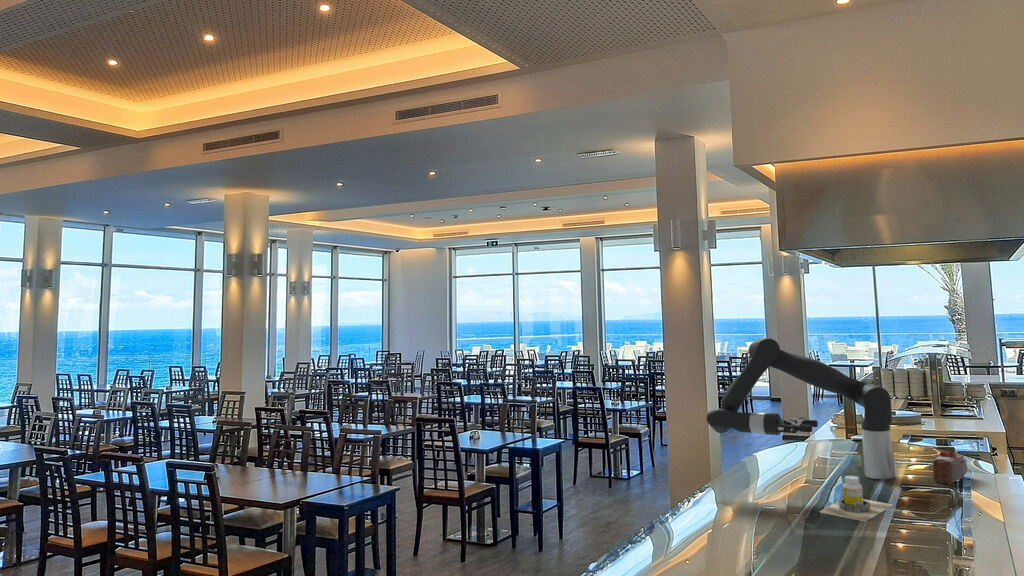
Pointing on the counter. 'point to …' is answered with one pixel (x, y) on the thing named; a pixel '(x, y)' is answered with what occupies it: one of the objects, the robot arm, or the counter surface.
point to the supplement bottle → (852, 491)
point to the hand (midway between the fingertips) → (814, 426)
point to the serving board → (874, 510)
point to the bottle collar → (854, 507)
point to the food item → (949, 467)
